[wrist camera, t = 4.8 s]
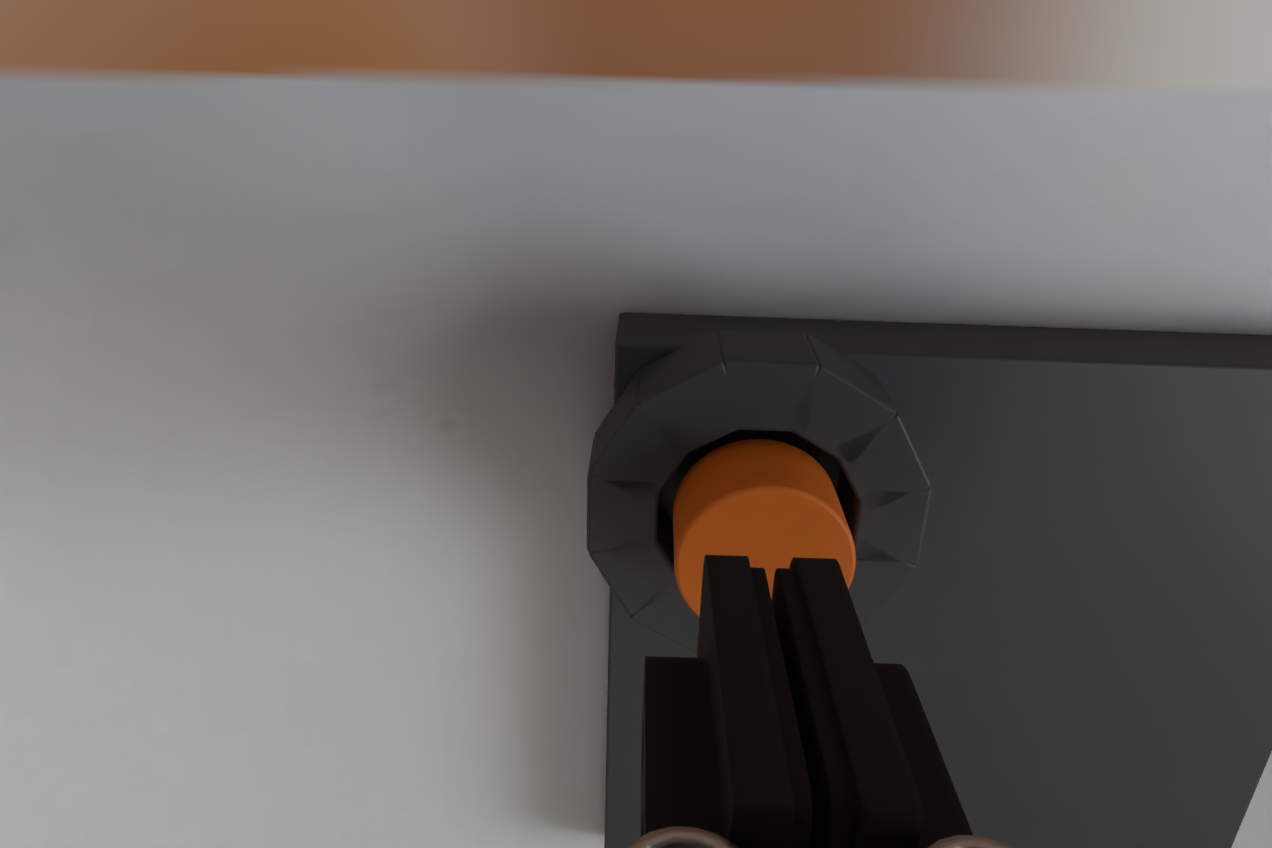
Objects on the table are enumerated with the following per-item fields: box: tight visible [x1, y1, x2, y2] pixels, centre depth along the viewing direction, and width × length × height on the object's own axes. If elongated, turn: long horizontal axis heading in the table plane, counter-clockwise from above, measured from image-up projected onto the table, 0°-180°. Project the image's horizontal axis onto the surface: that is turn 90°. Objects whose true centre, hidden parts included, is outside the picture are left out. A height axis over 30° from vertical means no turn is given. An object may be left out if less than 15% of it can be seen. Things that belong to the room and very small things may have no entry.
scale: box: [587, 313, 1272, 848], centre depth 18 cm, size 14×14×4 cm
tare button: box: [673, 439, 856, 617], centre depth 15 cm, size 3×3×2 cm
